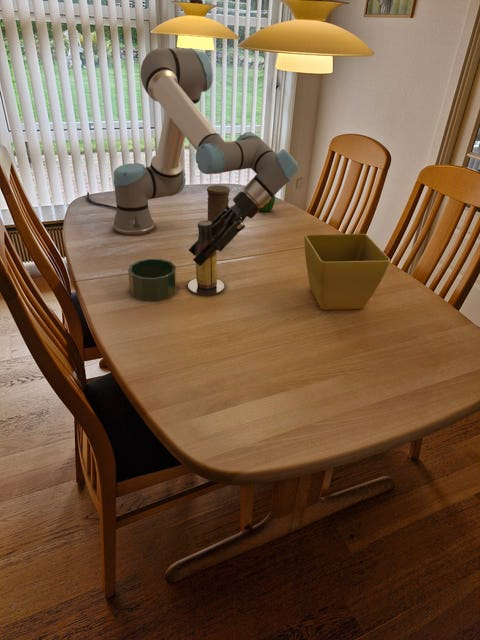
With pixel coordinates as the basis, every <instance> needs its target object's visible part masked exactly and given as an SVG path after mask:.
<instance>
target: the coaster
mask: <svg viewBox="0 0 480 640" xmlns="http://www.w3.org/2000/svg"><path fill="white" fill-rule="evenodd" d="M187 289H188V291H189V292H190V293H192V294H194V295H197V296H202V297H212V296H217V295H219V294H221V293H223V291H224V290H225V283H224V282H223V281H222V280H220V279H218V278H217V285H216V286H215V287H214V288H211V289H203V288H200V287H199V286H198V284H197V280H196V278H194V279H192V280H190V281H189V282H188V283H187Z"/></svg>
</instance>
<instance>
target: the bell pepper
mask: <svg viewBox="0 0 480 640" xmlns="http://www.w3.org/2000/svg"><path fill="white" fill-rule="evenodd" d="M275 195H276V194H275ZM275 195H274V196H273V197H271V199H270V200H269V203H266V204H265V205H264V206H263V207H262V208H261V207H259V212H262V213H265V212H271V211H272V210H273V208H274V205H275V202H276V196H275Z"/></svg>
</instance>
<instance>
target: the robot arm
mask: <svg viewBox="0 0 480 640" xmlns="http://www.w3.org/2000/svg"><path fill="white" fill-rule="evenodd" d="M213 80H214V73H213V67H212V63H211V60H210V58H209V56H208V55H207V53H206V52H205V51H203V50H201V49H195V48H191V47H190V48H172V47H171V48H170V47H157V48H155V49H152V50H151V51H149V52H148V53H147V54H146V55H145V57H144V58H143V60H142V62H141V65H140V81H141V84H142V87H143V89H144V90H145V92H146V94H147V95H148V96H149V98H150V99H151V100H152V101H154V102H157V103H158V104H159V105H160V106H161V107H162V109H163V110H164V117H163V122H162V126H161V132H160V137H159V142H158V146H157V152H156V155H154V156H152V158H151V161H150V165H149V166H146V165H145V164H143V163H140V162H134V163H133V162H131V163H125V164H122V165H120V166H117V167H116V168H115V169H114V170H113V186H114V193H115V194H114V196H115V205H116V206H115V205H114V206H113V205H110V204H105V203H99V202H95V201H93V200H91V199H90V192H89V191H87V192H86V198H87V200H88V201H89V203H91V204H94V205H97V206H101V207H107V208H112V209H115V210H116V212H115V216H114V221H113V230H114V232H116V233H117V234H120V235H124V236H140V235H145V234H150V233H151V232H153V231H154V230H155V221H154V219H153V218H152V214H151V212H150V209H149V200H153V199H159V198H165V197H172V196H175V195H178V194H180V193H182V191H183V190H184V189H185V185H186V180H187V179H186V177H185V176H186V173H185V169H184V168H183V165H182V163H181V162H180V161H181V158H182V154H183V150H184V145H185V142H186V139H187V141H188V142H189V143H190V145H191V146H192V148H194V150H195V158H194V159H195V163H196V164H197V168H198V170H199V171H200V172H201V173H202V174H204V175H218V174H222V173H227V172H229V173H230V172H234V171H241V170H247V169H250V170H252V171H253V172H254V173H255V176H253V177H252V178H251V179H250V180H248V182H247V184H245V186H243V188H242V189H243V190H240V191H239V192H238V193H237V194H236V195H235V196H234V197H233V198H232V202H233V203H234V204H233V205H232V206H231V207H230V206H228V205H227V206H225V208H224V209H223V210H222V211H221V212H220V213H219V214H218V215H217V216H216V217H215V218H214V219H213V220H212V221H211V222H212V238H213V236H215V235H216V234H217V233H218V232H219V233H218V235H217V236H216V237H215V239H213V241H212V242H209V244H208V245H207V246H206V247H205V248H204V249H203V250H202V251H201V252H200V253H199V254H198V255H197V256H196V257H195V249H196V244H197V242H198V239H197V240H196V241H195V242H194V243H193V244H192V245H191V246H190V247H189V248H188V251H189V252H190V253H191V254H192V255H193V256H194V258H193V259H192V261H193V262H194V263H195V264H196V263H197V264H198V265H199V266H201V265H202V264H203V263H204V262H205V261H206V260H207V259H208V258H209V257H210V256H211V255H212V254H213V253H214V252H215V251H216V252H217V251H219V252H222V251H223V250H224V249H225V248H226V247H227V246H228V245H229V243H231V242H232V241H233V239H234V238H235V237H236V236H237V235H238V234H239V233H240V232H241V231H243V230H244V229H245V228H246V225H245V224H244V221H245V219H246V218H248V219H253V218H254V217H255V216H256V215H257V214H258V213H259V212H260V211H259V207H261V208H262V207H263V206H264V205H265V204H266V203H269V200H270V199H271V197H273V196H274V195H276V194H277V193H278V192H279V191H280V190H281V189H282V188H283V187H285V186H286V185H287V184H288V183H289V182H290V181H291V179H293V177H295V175H296V174H297V173H298V172H299V170H300V166H299V164H298V162H297V161H296V159H294V157H293V156H292V155H291V154H290V153H289V152H288V151H287V150H285V149H283V148H281V149H280V150H278V151H277V152H275V151H274V150H273V149H272V148H271V147H270V146H268V144H267V143H266V142H265V141H264V140H263V139H262V138H261V137H259V136H257V135H256V134H255V133H254V132H251V131H246V132H244V133H243V134H240V135H239V136H238V137H237V139H236V140H233V141H225V140H224V138H222V136H221V135H220V134H219V133H218V132H217V130H216V129H215V128H214V126H213V125H212V124H211V122H209V120H208V119H207V117H205V115H204V114H203V113H202V111H201V110H200V109H199V108H198V106H197V104H198V103H199V102H200V101H201V97H202V92H203V93H206V92H208V91H209V90H210V89H211V88H212V85H213Z"/></svg>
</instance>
